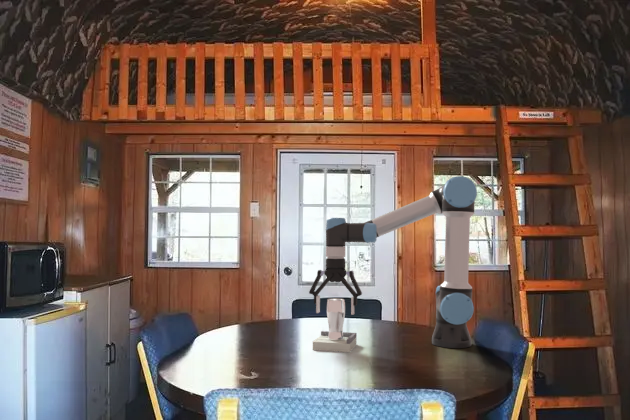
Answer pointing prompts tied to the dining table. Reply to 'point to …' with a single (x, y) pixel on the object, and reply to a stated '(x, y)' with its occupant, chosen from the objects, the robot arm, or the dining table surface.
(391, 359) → the dining table surface
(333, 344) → the dock
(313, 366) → the dining table surface
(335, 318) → the beer glass
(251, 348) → the dining table surface
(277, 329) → the dining table surface
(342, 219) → the robot arm
